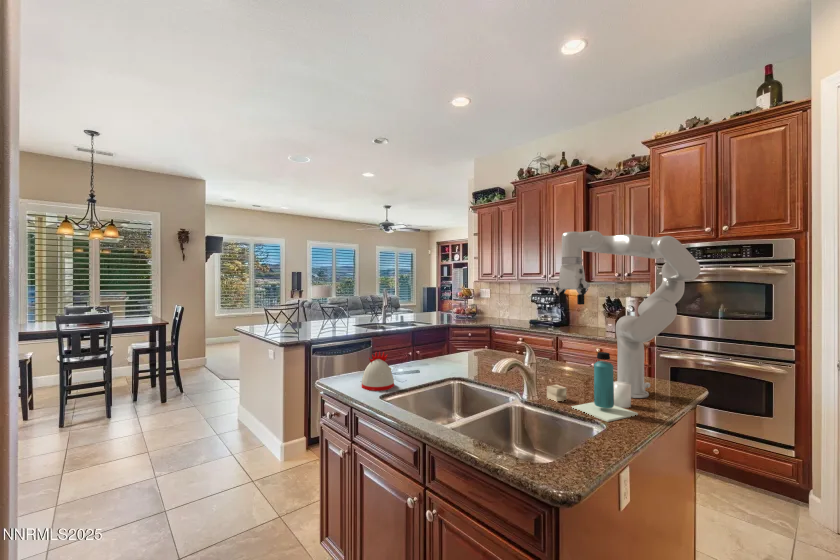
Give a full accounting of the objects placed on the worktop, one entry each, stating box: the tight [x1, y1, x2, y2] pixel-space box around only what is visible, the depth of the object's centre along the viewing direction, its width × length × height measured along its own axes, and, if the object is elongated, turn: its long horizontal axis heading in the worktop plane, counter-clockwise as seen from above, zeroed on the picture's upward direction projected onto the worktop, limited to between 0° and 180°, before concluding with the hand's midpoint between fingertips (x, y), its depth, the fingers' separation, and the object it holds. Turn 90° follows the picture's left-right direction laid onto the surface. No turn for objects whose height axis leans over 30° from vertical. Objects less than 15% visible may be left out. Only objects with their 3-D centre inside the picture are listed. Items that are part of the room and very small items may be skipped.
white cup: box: [614, 380, 632, 409], centre depth 141 cm, size 6×6×8 cm
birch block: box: [546, 384, 567, 403], centre depth 148 cm, size 5×5×5 cm
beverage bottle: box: [593, 351, 615, 408], centre depth 135 cm, size 6×7×20 cm
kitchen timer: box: [361, 351, 395, 392], centre depth 166 cm, size 14×14×15 cm
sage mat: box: [570, 401, 639, 423], centre depth 134 cm, size 15×15×1 cm
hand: (571, 303), depth 158 cm, fingers open, 9 cm apart
